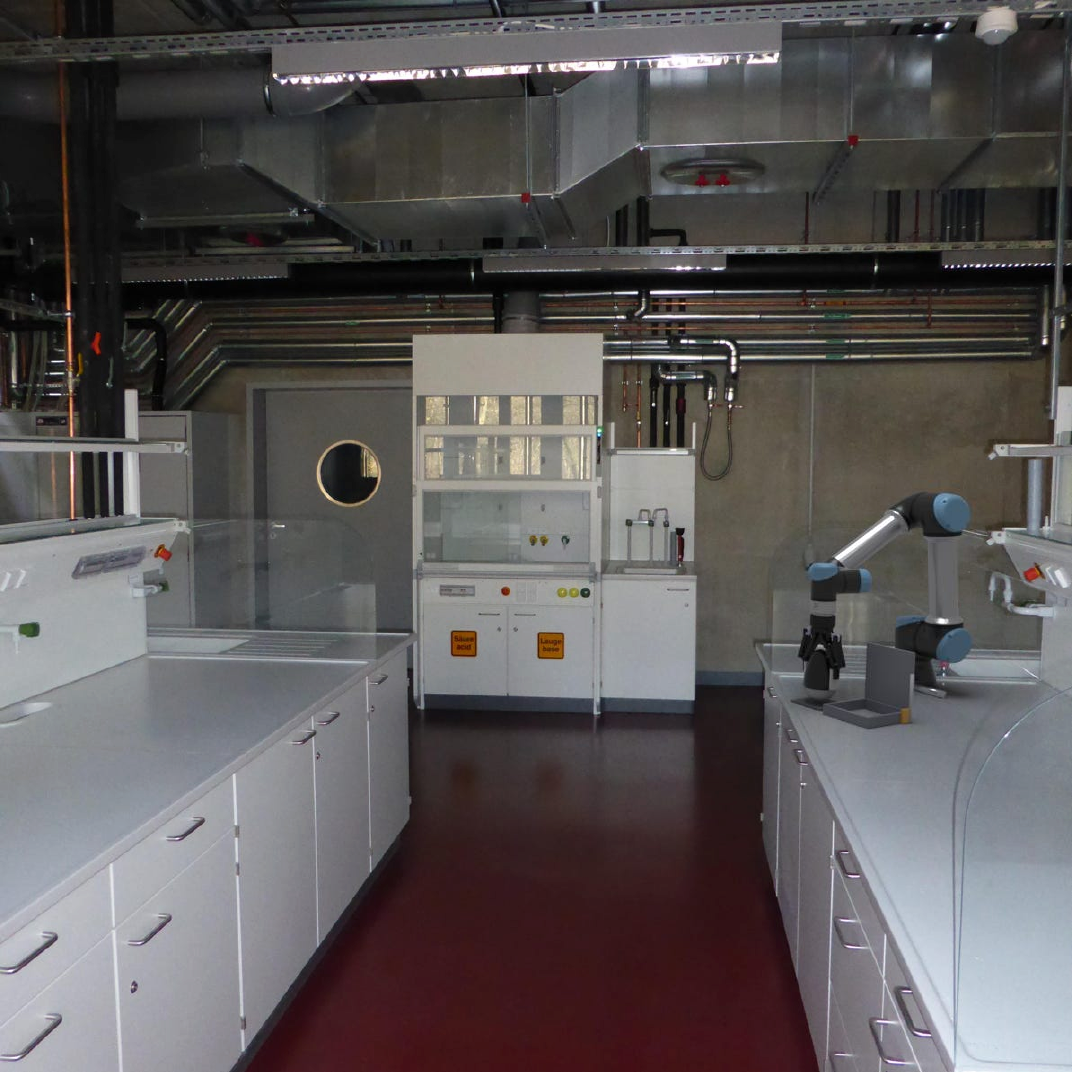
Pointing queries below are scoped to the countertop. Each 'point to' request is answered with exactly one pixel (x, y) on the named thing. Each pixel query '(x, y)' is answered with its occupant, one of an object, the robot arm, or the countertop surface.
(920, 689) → the rod
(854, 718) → the case
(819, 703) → the pad
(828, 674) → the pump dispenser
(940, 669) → the countertop surface
